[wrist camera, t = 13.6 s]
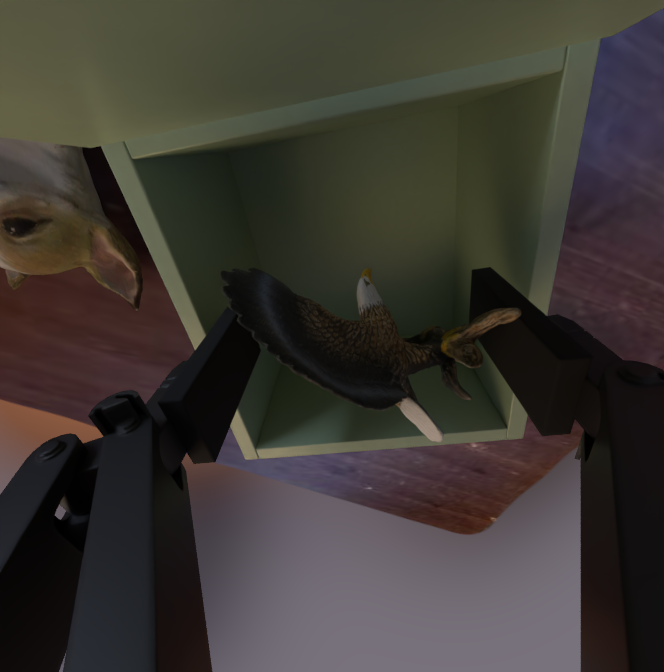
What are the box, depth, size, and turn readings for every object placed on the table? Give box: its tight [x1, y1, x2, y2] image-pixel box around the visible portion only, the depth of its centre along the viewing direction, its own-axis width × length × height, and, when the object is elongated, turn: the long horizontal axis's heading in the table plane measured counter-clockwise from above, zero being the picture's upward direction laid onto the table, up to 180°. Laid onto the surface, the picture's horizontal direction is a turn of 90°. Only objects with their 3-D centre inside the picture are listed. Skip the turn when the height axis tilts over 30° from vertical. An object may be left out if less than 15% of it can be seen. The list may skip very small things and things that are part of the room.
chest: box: [101, 38, 601, 460], centre depth 19 cm, size 17×16×11 cm
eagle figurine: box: [220, 268, 521, 442], centre depth 13 cm, size 8×7×9 cm
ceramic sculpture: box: [0, 137, 143, 311], centre depth 19 cm, size 11×9×15 cm
